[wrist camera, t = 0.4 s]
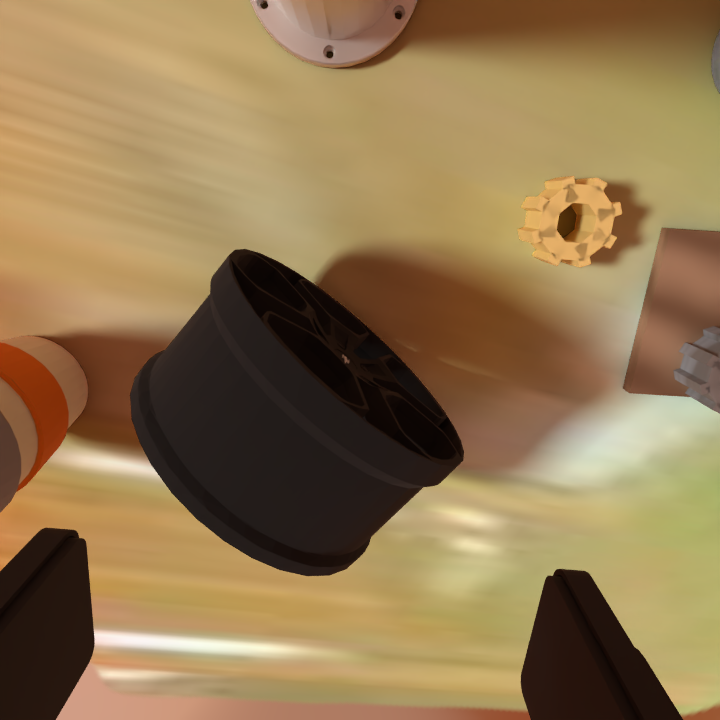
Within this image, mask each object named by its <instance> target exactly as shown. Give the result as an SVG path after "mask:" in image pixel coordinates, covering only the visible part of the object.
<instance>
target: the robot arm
mask: <svg viewBox="0 0 720 720" xmlns="http://www.w3.org/2000/svg"><path fill="white" fill-rule="evenodd" d="M417 1H418V0H250V2H251V4H252V6H253V9H254V11H255V13H256V15H257V17H258V18H259V20H260V22H261V23H262V25H263V26H264V28H265V29H266V30H267V32H268V33H269V34H270V35H271V37H272V38H273V39H274V40H275V41H276V42H277V43H278V44H279V45H280V46H281V47H283V48H284V49H285V50H286V51H287V52H289V53H290V54H292V55H294V56H295V57H297V58H299V59H300V60H302V61H305V62H308V63H311V64H314V65H316V66H322V67H330V68H338V67H350V66H353V65H356V64H359V63H363V62H366V61H367V60H369V59H371V58H373V57H375V56H376V55H378V54H380V53H381V52H382V51H383V50H385V49H386V48H387V47H388V46H389V45H390V44H392V43H393V42H394V41H395V39H396V38H397V37H398V36H399V34H400V33H401V32H402V31H403V29H404V28H405V26H406V25H407V23H408V21H409V19H410V17H411V15H412V14H413V12H414V9H415V6H416V3H417ZM263 3H267V4H268V7H267V8H266V9H262V4H263ZM396 13H400V14H401V15H402V18H401V19H396V18H395V14H396ZM328 52H332V53H333V54H334V55H333V57H332V58H328V57H327V56H326V55H327V53H328ZM93 650H94V629H93V617H92V605H91V593H90V581H89V570H88V558H87V546H86V541H85V540H84V539H82V538H79V535H78V533H77V531H75V530H68V529H55V528H44V529H42V530H40V531H39V532H38V533H37V534H36V535H35V536H34V537H33V538H32V539H31V540H30V541H29V542H28V543H27V544H26V545H25V546H24V548H23V549H22V550H21V551H20V552H19V553H18V554H17V555H16V556H15V557H14V558H13V559H12V560H11V561H10V562H9V563H8V564H7V565H6V566H5V567H4V568H3V569H2V570H1V571H0V720H56V718H57V716H58V715H59V713H60V711H61V709H62V708H63V706H64V705H65V703H66V701H67V700H68V698H69V696H70V694H71V693H72V691H73V689H74V688H75V686H76V684H77V682H78V681H79V679H80V677H81V676H82V674H83V672H84V670H85V669H86V667H87V665H88V664H89V662H90V659H91V657H92V654H93ZM521 688H522V693H523V697H524V700H525V703H526V706H527V709H528V712H529V715H530V718H531V720H683V719H682V717H681V716H680V714H679V712H678V711H677V709H676V708H675V706H674V704H673V703H672V701H671V699H670V698H669V696H668V695H667V693H666V691H665V690H664V688H663V687H662V685H661V683H660V682H659V680H658V679H657V677H656V675H655V674H654V672H653V670H652V669H651V667H650V666H649V664H648V662H647V661H646V659H645V658H644V656H643V655H642V654H641V653H640V651H639V650H638V649H636V648H635V647H634V646H633V644H632V642H631V641H630V639H629V638H628V636H627V634H626V633H625V631H624V629H623V628H622V626H621V624H620V623H619V621H618V620H617V618H616V616H615V615H614V613H613V611H612V610H611V608H610V607H609V605H608V603H607V602H606V600H605V598H604V597H603V595H602V593H601V592H600V590H599V589H598V587H597V585H596V584H595V582H594V580H593V579H592V577H591V576H590V574H589V573H588V572H586V571H578V570H566V569H557V570H556V571H555V572H554V575H553V576H547V578H546V580H545V583H544V587H543V590H542V594H541V598H540V602H539V606H538V610H537V614H536V618H535V622H534V626H533V630H532V634H531V638H530V641H529V645H528V649H527V653H526V657H525V661H524V665H523V669H522V673H521Z"/></svg>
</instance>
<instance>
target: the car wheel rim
mask: <svg viewBox="0 0 720 720" xmlns="http://www.w3.org/2000/svg"><path fill="white" fill-rule="evenodd" d="M130 399H131V414H132V421H133V424H134V427H135V430H136V433H137V436H138V439H139V442H140V444H141V446H142V448H143V450H144V452H145V454H146V455H147V457H148V459H149V461H150V463H151V465H152V466H153V468H154V469H155V470H156V472H157V473H158V475H159V476H160V477H161V479H162V480H163V482H164V483H165V484H166V486H167V487H168V488H169V490H170V491H171V493H172V494H173V495H174V496H175V497H176V498H177V499H178V500H179V501H180V502H181V503H182V504H183V505H184V506H185V507H186V508H187V509H188V510H189V511H190V512H191V514H192V515H193V516H194V517H195V518H196V519H197V520H199V521H200V522H201V523H202V524H204V525H205V526H206V527H207V528H209V529H210V530H211V531H212V532H214V533H215V534H216V535H217V536H219V537H220V538H221V539H222V540H223V541H225V542H227V543H228V544H230V545H231V546H233V547H235V548H236V549H238V550H240V551H241V552H243V553H245V554H246V555H248V556H249V557H251V558H253V559H255V560H258V561H260V562H262V563H265V564H267V565H269V566H272V567H274V568H276V569H279V570H282V571H287V572H291V573H296V574H300V575H304V576H325V575H332V574H334V573H337V572H340V571H342V570H345V569H347V568H348V567H349V566H350V565H351V564H352V563H354V562H355V561H356V560H357V559H358V558H359V557H360V556H361V555H362V554H363V553H364V552H365V550H366V548H367V547H368V545H369V542H370V539H371V536H372V535H374V534H375V533H376V532H377V531H378V530H379V529H380V528H381V527H382V526H383V525H384V524H385V523H386V522H387V521H388V520H389V519H390V518H391V517H393V516H394V515H395V514H396V513H397V512H398V511H399V510H400V509H401V508H402V507H403V506H404V505H405V504H406V503H407V502H408V501H409V500H410V499H411V498H413V497H414V496H415V495H416V494H417V493H418V492H419V491H420V490H421V489H422V488H423V487H429V486H435V485H438V484H439V483H441V482H442V481H443V480H444V479H445V478H446V477H447V476H448V475H449V474H450V473H451V472H452V471H453V470H454V469H455V468H456V467H457V466H458V465H459V464H460V463H461V462H462V461H463V456H464V450H463V447H462V443H461V440H460V438H459V436H458V434H457V432H456V430H455V428H454V426H453V424H452V423H451V421H450V420H449V418H448V417H447V415H446V414H445V412H444V410H443V409H442V408H441V406H440V405H439V404H438V402H437V401H436V400H435V398H434V397H433V396H432V394H431V393H430V392H429V391H428V390H427V388H426V387H425V386H424V385H423V384H422V382H421V381H420V380H419V379H418V378H417V376H416V375H415V374H414V373H413V372H412V371H411V370H410V369H409V368H408V367H407V366H406V364H405V363H404V362H403V361H402V360H401V359H400V358H399V357H398V356H397V355H396V354H395V353H394V352H393V351H392V350H391V349H390V348H389V347H388V346H387V345H386V344H385V343H384V342H383V341H382V340H381V339H380V338H379V337H378V336H376V335H375V334H374V333H373V332H372V331H371V330H370V329H369V328H368V327H367V326H366V325H364V324H363V323H362V322H361V321H360V320H359V319H358V318H357V317H355V316H354V315H353V314H352V313H351V312H349V311H348V310H347V309H346V308H345V307H343V306H342V305H341V304H340V303H338V302H337V301H336V300H335V299H333V298H332V297H331V296H329V295H328V294H327V293H325V292H324V291H323V290H321V289H320V288H319V287H317V286H316V285H314V284H313V283H312V282H310V281H309V280H307V279H306V278H304V277H303V276H301V275H300V274H298V273H297V272H295V271H293V270H292V269H290V268H288V267H286V266H285V265H283V264H281V263H280V262H278V261H276V260H274V259H272V258H269V257H267V256H265V255H263V254H261V253H257V252H254V251H250V250H247V249H240V250H234V251H233V252H232V253H231V254H230V255H229V256H228V257H227V259H226V260H225V261H224V262H223V264H222V265H221V266H220V268H219V269H218V270H217V271H216V273H215V274H214V275H213V277H212V279H211V289H210V295H209V296H208V297H207V299H206V300H205V301H204V302H203V304H202V305H201V306H200V307H199V309H198V310H197V311H196V312H195V314H194V315H193V316H192V317H191V318H190V320H189V321H188V322H187V323H186V325H185V326H184V327H183V328H182V330H181V331H180V332H179V333H178V335H177V336H176V337H175V338H174V340H173V341H172V342H171V343H170V345H169V346H168V347H167V348H166V350H163V351H161V352H159V353H157V354H155V355H154V356H153V357H152V358H150V359H149V360H148V361H147V363H146V364H145V365H144V366H143V368H142V369H141V370H140V372H139V373H138V374H137V376H136V377H135V379H134V383H133V386H132V390H131V393H130Z"/></svg>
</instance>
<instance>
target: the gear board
mask: <svg viewBox="0 0 720 720" xmlns="http://www.w3.org/2000/svg"><path fill="white" fill-rule="evenodd" d="M623 389H625V390H626V391H627V392H629V393H636V394H652V395H668V396H685V397H692V398H694V399H695V400H697V401H699V402H700V403H702V404H704V405H705V406H707V407H709V408H710V409H712V410H714V411H716V412H718V413H720V232H715V231H700V230H685V229H670V228H662V229H661V233H660V238H659V242H658V246H657V250H656V254H655V258H654V262H653V266H652V270H651V275H650V279H649V283H648V287H647V291H646V295H645V299H644V303H643V307H642V312H641V316H640V320H639V324H638V328H637V332H636V336H635V340H634V344H633V349H632V353H631V357H630V361H629V365H628V369H627V373H626V377H625V382H624V386H623Z"/></svg>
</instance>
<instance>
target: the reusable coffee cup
mask: <svg viewBox="0 0 720 720" xmlns="http://www.w3.org/2000/svg"><path fill="white" fill-rule="evenodd" d="M87 399H88V384H87V379H86V376H85V374H84V371H83V369H82V368H81V366H80V364H79V363H78V361H77V360H76V359H75V358H74V357H73V356H72V355H71V354H70V353H69V352H68V351H67V350H66V349H64V348H63V347H62V346H60V345H58V344H56V343H55V342H53V341H50V340H47V339H45V338H40V337H35V336H21V337H16V338H11V339H6V340H2V341H0V512H1V511H2V510H3V509H4V508H5V507H6V506H7V505H8V504H9V503H10V502H11V500H12V498H13V496H14V494H15V493H16V492H17V491H18V490H20V489H21V488H23V487H24V486H26V485H27V483H28V482H29V481H30V480H31V479H32V478H33V477H34V476H35V475H36V473H37V472H38V471H39V470H40V469H41V468H42V466H43V465H44V464H45V463H46V462H47V460H48V459H49V458H50V457H51V456H52V455H53V453H54V452H55V451H56V450H57V449H58V448H59V446H60V445H61V443H62V441H63V439H64V438H65V436H66V432H67V429H68V428H69V427H70V426H71V425H72V423H73V422H74V421H75V420H76V419H77V418H78V417H79V415H80V414H81V413H82V411H83V410H84V408H85V406H86V403H87Z"/></svg>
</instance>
